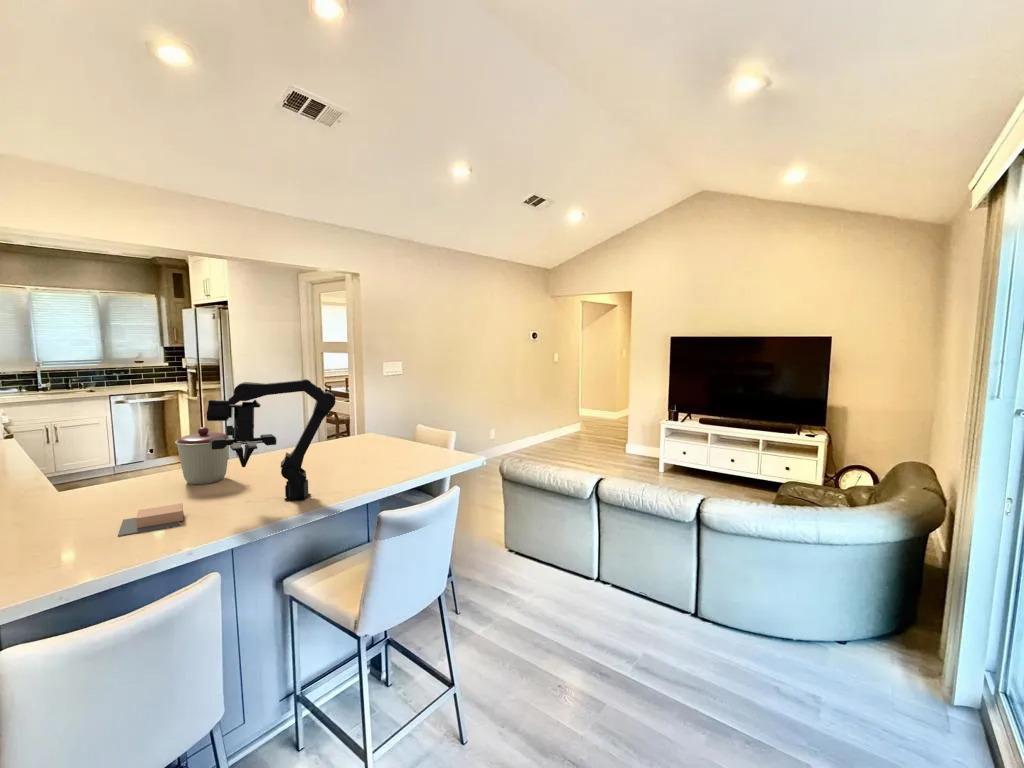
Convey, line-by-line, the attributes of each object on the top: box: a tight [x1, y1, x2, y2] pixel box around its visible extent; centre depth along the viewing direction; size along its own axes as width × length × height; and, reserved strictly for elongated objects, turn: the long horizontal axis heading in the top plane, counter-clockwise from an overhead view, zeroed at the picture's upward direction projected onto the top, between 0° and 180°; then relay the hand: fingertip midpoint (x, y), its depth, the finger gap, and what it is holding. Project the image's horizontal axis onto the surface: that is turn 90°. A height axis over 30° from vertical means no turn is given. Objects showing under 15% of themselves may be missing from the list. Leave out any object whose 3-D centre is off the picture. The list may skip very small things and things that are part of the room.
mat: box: [117, 517, 180, 537], centre depth 141 cm, size 14×14×1 cm
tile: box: [135, 502, 184, 528], centre depth 143 cm, size 3×8×11 cm
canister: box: [174, 426, 232, 485], centre depth 182 cm, size 18×18×21 cm
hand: (243, 467), depth 157 cm, fingers closed
